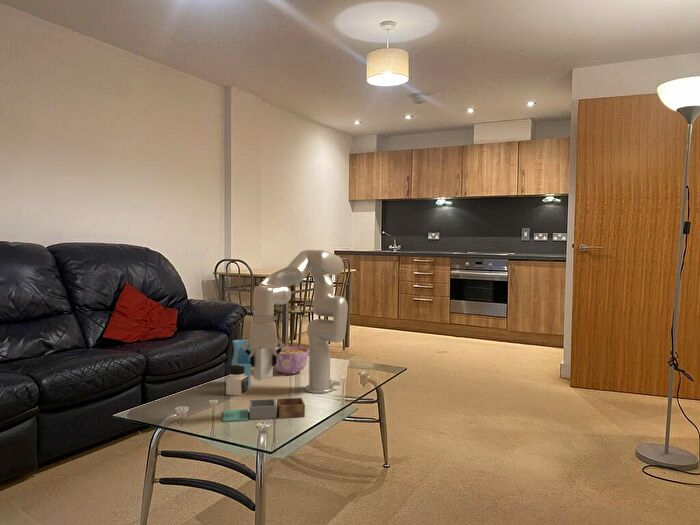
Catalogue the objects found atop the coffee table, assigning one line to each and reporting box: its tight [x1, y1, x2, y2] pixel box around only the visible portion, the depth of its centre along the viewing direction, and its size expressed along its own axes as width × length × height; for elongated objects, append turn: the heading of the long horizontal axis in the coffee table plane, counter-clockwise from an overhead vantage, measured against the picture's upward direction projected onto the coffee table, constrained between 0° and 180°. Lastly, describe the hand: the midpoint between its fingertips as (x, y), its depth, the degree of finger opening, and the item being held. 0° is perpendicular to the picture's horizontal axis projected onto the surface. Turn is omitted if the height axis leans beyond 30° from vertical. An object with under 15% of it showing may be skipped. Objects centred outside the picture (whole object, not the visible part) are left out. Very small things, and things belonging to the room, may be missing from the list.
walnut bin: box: [276, 397, 306, 419], centre depth 199 cm, size 10×10×4 cm
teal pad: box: [222, 409, 249, 423], centre depth 194 cm, size 9×12×1 cm
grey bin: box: [248, 398, 277, 421], centre depth 196 cm, size 10×10×4 cm
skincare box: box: [253, 348, 274, 382], centre depth 196 cm, size 6×4×12 cm
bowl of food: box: [273, 346, 309, 375], centre depth 265 cm, size 20×20×12 cm
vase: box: [231, 339, 252, 387], centre depth 241 cm, size 8×8×20 cm
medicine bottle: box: [225, 365, 249, 397], centre depth 226 cm, size 7×7×12 cm
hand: (263, 366), depth 196 cm, fingers closed on skincare box, 7 cm apart
